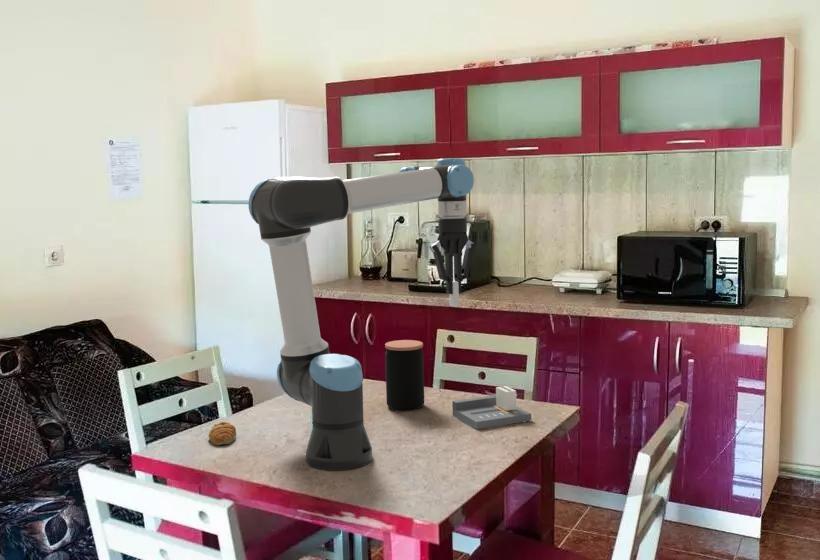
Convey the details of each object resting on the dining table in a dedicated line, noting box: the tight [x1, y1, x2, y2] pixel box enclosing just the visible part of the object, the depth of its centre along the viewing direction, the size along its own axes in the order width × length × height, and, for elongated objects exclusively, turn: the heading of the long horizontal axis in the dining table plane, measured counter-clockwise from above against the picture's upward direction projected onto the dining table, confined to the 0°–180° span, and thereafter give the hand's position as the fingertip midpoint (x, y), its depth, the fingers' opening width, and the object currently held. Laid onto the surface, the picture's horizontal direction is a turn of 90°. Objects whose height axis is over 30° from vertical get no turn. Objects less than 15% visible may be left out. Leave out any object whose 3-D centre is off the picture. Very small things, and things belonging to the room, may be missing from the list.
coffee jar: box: [384, 339, 425, 412], centre depth 229 cm, size 11×11×18 cm
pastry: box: [208, 421, 237, 446], centre depth 203 cm, size 9×7×4 cm
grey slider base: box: [452, 394, 532, 431], centre depth 216 cm, size 16×14×4 cm
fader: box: [495, 385, 517, 411], centre depth 218 cm, size 3×6×5 cm, turn 22°
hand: (454, 305), depth 219 cm, fingers closed
